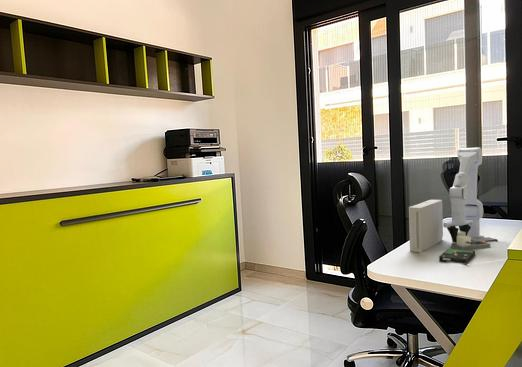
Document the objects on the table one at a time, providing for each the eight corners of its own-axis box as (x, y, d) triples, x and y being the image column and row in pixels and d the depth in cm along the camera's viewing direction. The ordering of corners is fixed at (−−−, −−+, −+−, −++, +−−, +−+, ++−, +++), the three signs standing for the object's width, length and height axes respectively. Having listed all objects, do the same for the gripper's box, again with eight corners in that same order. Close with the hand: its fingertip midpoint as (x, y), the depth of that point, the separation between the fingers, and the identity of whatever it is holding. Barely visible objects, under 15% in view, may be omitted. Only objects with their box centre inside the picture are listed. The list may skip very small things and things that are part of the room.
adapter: (456, 247, 178) (456, 236, 177) (464, 246, 179) (464, 235, 178) (468, 251, 171) (468, 239, 170) (476, 250, 171) (476, 238, 171)
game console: (408, 251, 178) (407, 207, 176) (430, 239, 197) (429, 199, 196) (421, 253, 174) (420, 207, 172) (443, 240, 193) (442, 199, 192)
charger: (452, 244, 186) (452, 231, 185) (459, 243, 187) (459, 230, 186) (458, 245, 182) (458, 233, 181) (465, 245, 183) (465, 232, 182)
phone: (468, 241, 189) (468, 239, 188) (488, 239, 191) (488, 236, 191) (477, 244, 183) (477, 241, 183) (497, 241, 186) (497, 239, 185)
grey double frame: (451, 247, 179) (451, 242, 179) (478, 244, 182) (478, 239, 182) (462, 251, 172) (462, 246, 172) (490, 248, 175) (490, 243, 175)
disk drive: (467, 266, 153) (475, 256, 165) (467, 259, 153) (475, 250, 165) (438, 263, 160) (448, 253, 171) (438, 256, 160) (448, 247, 171)
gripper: (450, 215, 178) (451, 244, 179) (478, 212, 181) (478, 241, 182) (440, 212, 185) (440, 241, 186) (467, 210, 188) (467, 238, 189)
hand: (458, 241), depth 184 cm, fingers closed on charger, 4 cm apart
